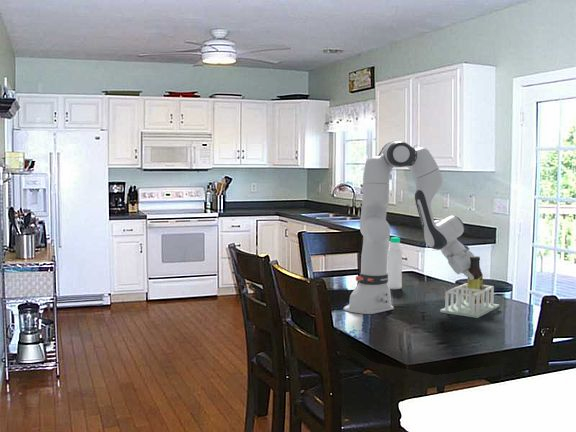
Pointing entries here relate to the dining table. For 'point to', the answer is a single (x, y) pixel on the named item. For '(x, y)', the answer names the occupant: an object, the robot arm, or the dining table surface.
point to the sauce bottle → (478, 280)
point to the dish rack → (469, 301)
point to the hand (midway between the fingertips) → (476, 277)
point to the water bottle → (394, 264)
